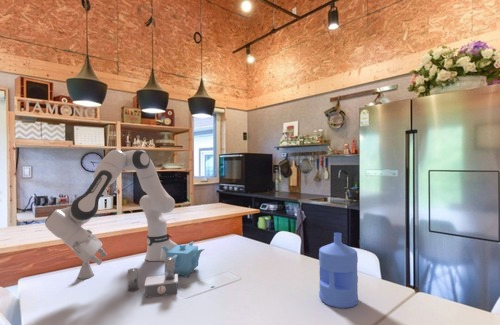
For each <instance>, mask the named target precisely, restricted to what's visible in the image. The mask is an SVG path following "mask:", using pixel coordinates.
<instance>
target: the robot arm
mask: <svg viewBox="0 0 500 325" xmlns="http://www.w3.org/2000/svg"><path fill="white" fill-rule="evenodd" d="M156 169H157V168H156V167H155V164H154V163H153V160H152V159H151V158H150V155H149V153H147V151H145V150H141V149H137V150H135V149H134V150H132V149H131V150H127V151H121V150H118V149H113V150H110V151H109V152H108V153H106V155H105V156H104V157H103V158H102V159H101V161H99V163H98V165H97V166H96V168H95V169H94V170H95V171H94V173H93V178H94V179H93V180H92V183H90V185H89V187H88V188H87V190H86V191H85V192H84V193H83V194H82V195H81V196H78V197H77V198H76V199H75V200H74V201H73V202H72V204H71V206H68V207H64V208H61V209H60V208H59V209H54V210H53V211H52V212H51V213H50V214H49V215H48V216H47V218H46V219H45V222H44V226H45V227H46V229H48V231H50V232H51V234H53V235H54V236H55V237H57V238H59V239H61V240H62V242H63V243H64V244H65V245H66V246H68V247H69V248H70V249H71V250H72V251H73V253H74V254H75V256H77V258H78V259H80V260H81V261H82V263H83V262H86V263H87V262H88V261H89V262H90V261H91V262H93V263H95V264H97V265H98V266H100V265H101V264H102V263H103V260H102V258H103V259H105V258H106V257H107V256H108V253H107V252H105V250H104V248H103V247H102V246H103V245H104V244H103V242H102V240H100V239H99V238H98V237H97V236H96V235H95V234H93V231H91V230H90V229H85V228H84V227H83V225H85V224H87V223H88V222H89V221H90V220H91V219H92V218H93V217H94V216H95V215H96V214H97V212H98V209H99V202H100V201H99V200H100V199H101V197H102V195H103V193H104V192H105V190H106V189H107V187H108V186H110V185H112V184H114V182H115V181H116V180H118V178H119V176H120V175H121V173H122V172H124V171H127V172H128V171H135V172H136V177H137V178H138V181H139V184H140V187H141V190H143V192H144V193H145V194H144V195H142V196H141V198H140V199H139V206H140V208H141V209H142V211H143V213H144V214H145V217H146V222H147V236H146V243H147V249H146V255H145V260H146V261H148V262H165V258H166V252H165V250H164V249H163V248H161V247H166V248H168V250H171V249H172V248H174V247H176V246H177V245H178V244H177V243H176V242H175V241H173V240H172V239H170V238H172V237H173V234H171V233H168V232H167V228H168V227H167V223H168V222H167V220H166V219H165V218H164V217H163V214H166V213H167V214H168V213H171V212H172V211H174V209H175V206H176V201H175V199H174V198H173V197H172V196H171V195H170V194H169V193H168V192H167V191H166V190H165V188H164V186H163V185H162V183H161V181H160V177H159V176H158V175H159V174H158V172H157V170H156ZM96 253H98V254H100V256H101V257H102V258H98V257H97V256H96Z"/></svg>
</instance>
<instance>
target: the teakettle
mask: <svg viewBox="0 0 500 325" xmlns="http://www.w3.org/2000/svg"><path fill="white" fill-rule="evenodd" d="M193 244H194V241H190V242H189V245H187V244H177V246H176V247H174V248H172V249H171V250H168V248H166V247H161V248H163V249H164V250H165V252H166V258H168V257H174V258H175V274H178V275H182V276H183V277H186V278H187V277H189V276H190V274H191V273H192V272H194V271H195V269H197V267H199V259H200V256H201V254H202V253H203V252H204V251H205V250H206V249H205V248H201V249H199V246H198V245H193Z"/></svg>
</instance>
